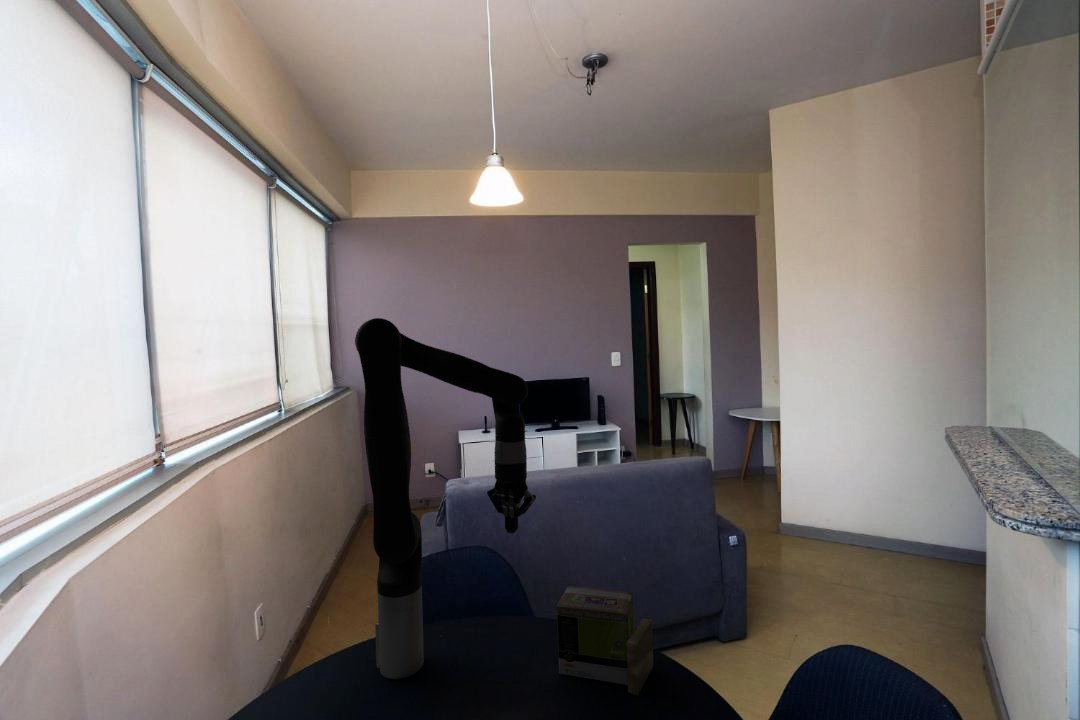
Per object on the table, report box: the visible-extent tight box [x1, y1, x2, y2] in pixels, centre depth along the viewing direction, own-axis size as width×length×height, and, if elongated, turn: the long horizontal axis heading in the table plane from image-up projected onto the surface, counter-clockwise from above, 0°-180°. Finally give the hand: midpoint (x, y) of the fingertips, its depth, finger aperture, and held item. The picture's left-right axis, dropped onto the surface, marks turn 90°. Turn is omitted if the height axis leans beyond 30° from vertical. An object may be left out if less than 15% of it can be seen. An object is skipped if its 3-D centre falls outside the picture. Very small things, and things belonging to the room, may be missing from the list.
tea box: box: [556, 585, 635, 686], centre depth 107 cm, size 15×10×15 cm
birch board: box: [627, 618, 654, 696], centre depth 102 cm, size 2×10×10 cm, turn 150°
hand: (511, 532), depth 118 cm, fingers closed
